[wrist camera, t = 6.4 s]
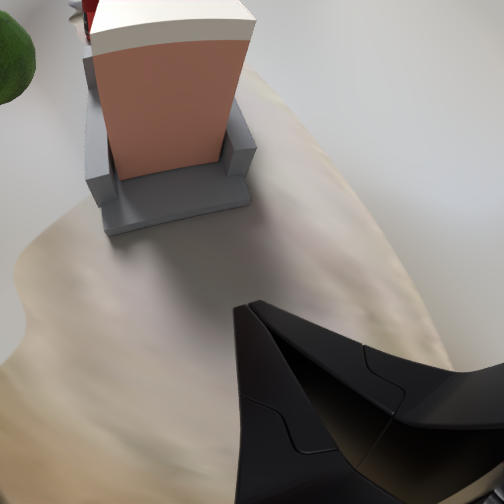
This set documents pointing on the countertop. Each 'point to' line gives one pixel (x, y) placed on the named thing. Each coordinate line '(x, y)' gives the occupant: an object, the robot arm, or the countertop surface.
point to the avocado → (14, 58)
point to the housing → (163, 174)
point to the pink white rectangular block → (167, 78)
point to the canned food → (89, 14)
